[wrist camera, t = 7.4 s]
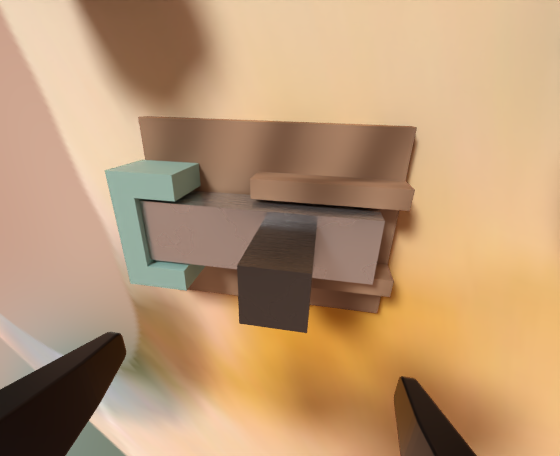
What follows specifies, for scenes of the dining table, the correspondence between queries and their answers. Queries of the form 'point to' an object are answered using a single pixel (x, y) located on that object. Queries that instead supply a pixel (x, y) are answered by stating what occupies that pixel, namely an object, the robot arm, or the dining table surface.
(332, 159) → the slide base
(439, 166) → the dining table surface
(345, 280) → the grey t-shaped block
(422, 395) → the robot arm
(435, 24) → the dining table surface
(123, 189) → the socket block
